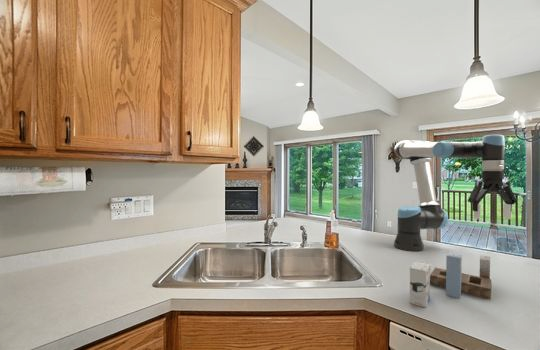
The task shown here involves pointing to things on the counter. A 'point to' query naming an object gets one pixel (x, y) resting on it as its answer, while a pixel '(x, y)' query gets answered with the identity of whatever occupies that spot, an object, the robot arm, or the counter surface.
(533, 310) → the counter surface
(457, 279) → the square bit
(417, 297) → the ink box
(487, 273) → the grey upright block
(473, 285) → the bit holder block
